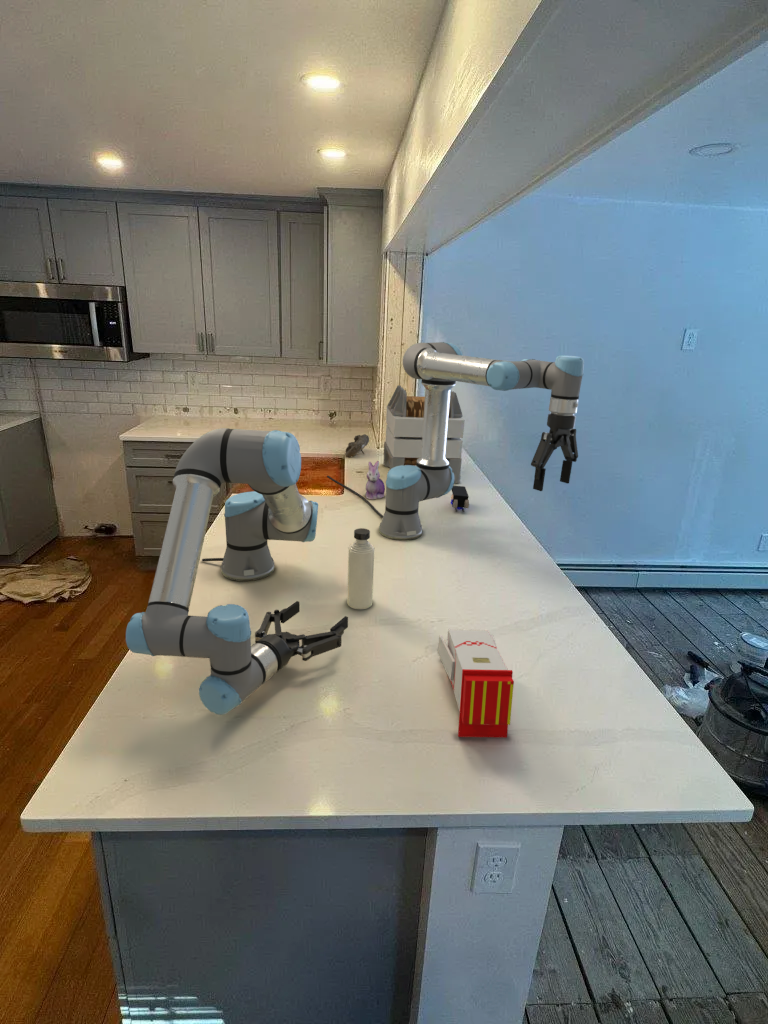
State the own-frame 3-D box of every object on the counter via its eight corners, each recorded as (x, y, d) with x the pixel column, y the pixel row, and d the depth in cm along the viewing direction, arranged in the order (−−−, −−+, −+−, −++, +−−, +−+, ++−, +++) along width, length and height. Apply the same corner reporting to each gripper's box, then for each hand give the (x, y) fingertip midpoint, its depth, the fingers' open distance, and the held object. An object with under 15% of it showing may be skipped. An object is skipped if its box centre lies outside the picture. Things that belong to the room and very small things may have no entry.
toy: (488, 613, 130) (523, 677, 101) (484, 667, 133) (517, 744, 104) (435, 612, 130) (455, 676, 101) (432, 666, 133) (451, 743, 103)
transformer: (382, 463, 289) (386, 382, 275) (445, 464, 293) (451, 384, 279) (390, 482, 257) (394, 392, 243) (460, 483, 261) (468, 394, 247)
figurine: (370, 501, 232) (371, 465, 226) (359, 493, 240) (360, 459, 235) (390, 498, 236) (392, 463, 231) (379, 491, 244) (380, 457, 239)
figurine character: (469, 517, 223) (463, 501, 236) (471, 500, 219) (465, 484, 233) (452, 516, 222) (447, 500, 236) (454, 499, 219) (449, 483, 232)
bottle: (375, 599, 154) (378, 530, 147) (367, 611, 148) (369, 539, 141) (352, 595, 156) (354, 526, 149) (343, 606, 150) (345, 535, 143)
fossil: (345, 440, 315) (366, 425, 310) (356, 453, 318) (377, 439, 313) (338, 454, 296) (361, 438, 291) (350, 468, 298) (372, 452, 293)
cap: (371, 535, 147) (372, 529, 146) (366, 541, 143) (366, 535, 143) (357, 533, 148) (357, 527, 147) (351, 538, 144) (351, 532, 144)
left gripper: (219, 655, 123) (279, 613, 141) (315, 693, 112) (367, 642, 130) (217, 625, 120) (279, 586, 138) (315, 661, 110) (368, 613, 128)
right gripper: (548, 419, 148) (537, 496, 155) (597, 411, 163) (585, 482, 171) (524, 414, 153) (514, 489, 160) (574, 407, 169) (564, 476, 176)
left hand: (322, 613), depth 134 cm, fingers open, 13 cm apart
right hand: (551, 486), depth 165 cm, fingers open, 13 cm apart
